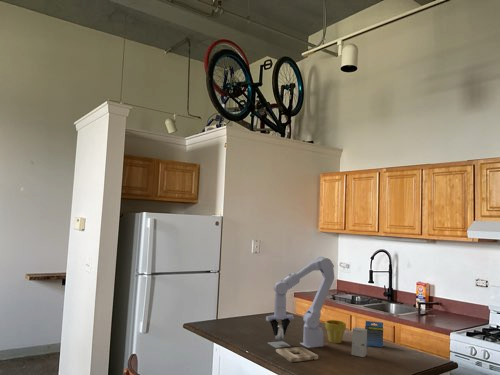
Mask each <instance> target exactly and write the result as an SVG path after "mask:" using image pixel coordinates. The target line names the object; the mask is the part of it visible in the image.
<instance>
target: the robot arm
mask: <svg viewBox="0 0 500 375" xmlns="http://www.w3.org/2000/svg"><path fill="white" fill-rule="evenodd" d="M334 267H335V266H334V264H333V262H332V260H331V259H330V258H327V257H324V256H319V257H317V258H315V259H313V260H312V261H311V262H310V263H308V264H307V265H305V266H304V267H303V268H301V269H300V270H298V272H292V273H288V275H287V276H286V277H285V278H283V279H282V278H281V279H280V281H277V282H276V283H275V284H274V286H273V290H274V308H273V313H274V314H272V315H268V316H265V321H266V322H269V323H270V325H271V327H272V331H273V336H274V337H275V336H277V327H278V325H279V321H281V325H282V326H284V336H286V333H287V329H288V327H289V325H290V323H291V320H294V319H295V318H294V317H295V316H294V315H293V314H287V292H288V290H291V289H292V288H294V287H295V286H297V285H298V284H299V283H300V281H301V280H300V279H302V278H304V277H305V276H307V275H309V274H310V273H312V272H314V271H320V273H321V275H322V279H321V282H320V285H319V287H318V290H317V291H316V294H315V296H314V298H313V301H312V303H311V305H310V307H308V309H307V311H306V312H305V313H304V314H303V316H302V319H303V322H304V324H303V335H302V336H303V339H302V340H303V342H299V344H300V345H302V346H304V347H306V349H307V348H310V349H311V348H318V347H325V345H324V330H323V328H322V327H321V326H319V325H320V318H321V315H322V314H321V313H322V312H321V311H322V309H323V306H324V304H325V301H326V299H327V296H328V295H329V292H330V290H331V288H332V285H333V282H334V281H335V271H334Z"/></svg>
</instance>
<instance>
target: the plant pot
mask: <svg viewBox="0 0 500 375" xmlns="http://www.w3.org/2000/svg"><path fill="white" fill-rule="evenodd" d="M346 326H347V323H346V322H345V321H343V320H342V321H341V320H338V319H328V320H326V321H325V329H326V331H327V332H326V333H327V338H328V342H330V343H332V344H340V343H342V341H343V337H344V334H345V331H346V330H347V328H346Z"/></svg>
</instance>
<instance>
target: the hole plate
mask: <svg viewBox="0 0 500 375" xmlns="http://www.w3.org/2000/svg"><path fill="white" fill-rule="evenodd" d="M275 352H276V353H277V354H278V355H280V356H282V357H283V358H284V359H285V360H286V361H288V362H290V363H293V362H302V361H311V360H313V359H314V360H319V354H317V353H314V352H312V351H311V350H308V349H307V348H305V347H303V346H296V347H283V348H275ZM297 353H299V354H297Z"/></svg>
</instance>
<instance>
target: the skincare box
mask: <svg viewBox="0 0 500 375" xmlns="http://www.w3.org/2000/svg"><path fill="white" fill-rule="evenodd" d="M351 330H352V334H351V336H352V337H351V355H352V356H356V357H361V358H365V357H366V356H367V329H365V327H357V326H354V327H352V329H351Z"/></svg>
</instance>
